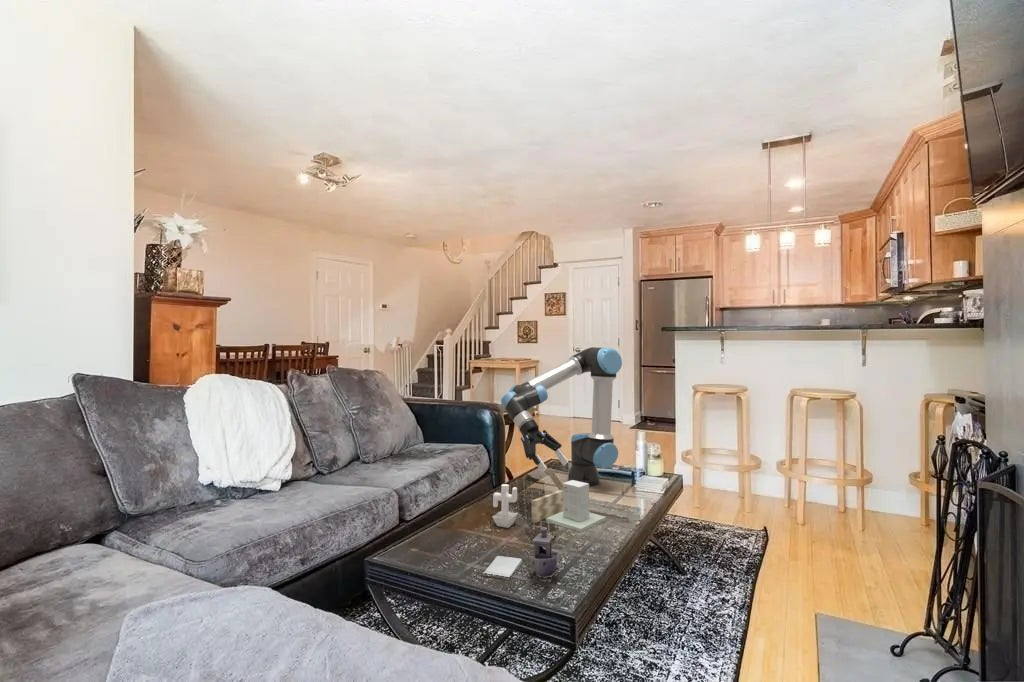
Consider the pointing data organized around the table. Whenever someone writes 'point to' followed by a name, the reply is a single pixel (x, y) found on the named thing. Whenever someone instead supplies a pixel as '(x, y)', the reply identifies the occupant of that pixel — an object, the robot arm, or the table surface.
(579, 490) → the small box
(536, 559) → the toy boat
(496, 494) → the figurine
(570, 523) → the display plate
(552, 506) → the wooden screen
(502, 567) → the hard drive
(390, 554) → the table surface
